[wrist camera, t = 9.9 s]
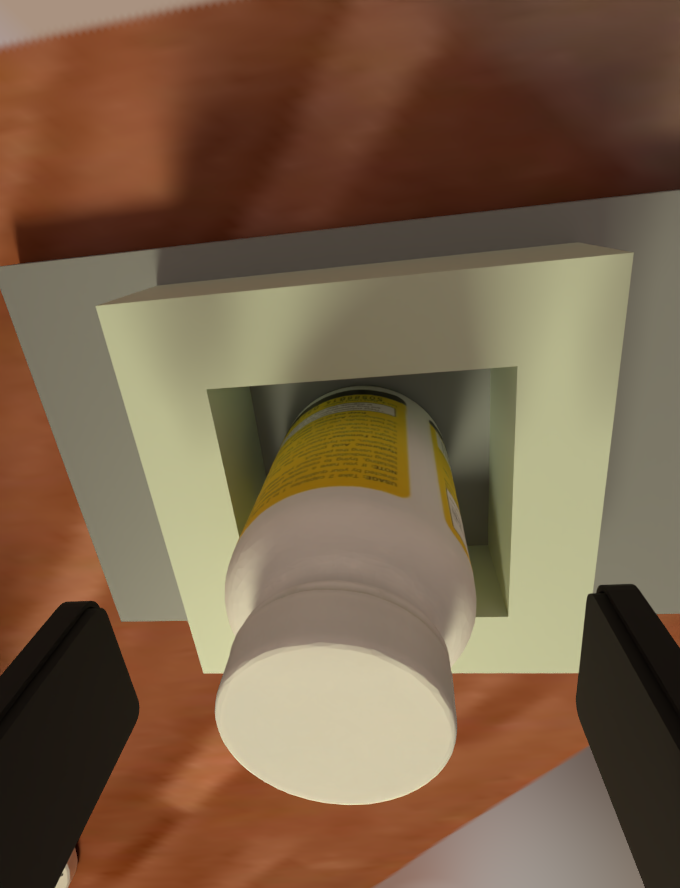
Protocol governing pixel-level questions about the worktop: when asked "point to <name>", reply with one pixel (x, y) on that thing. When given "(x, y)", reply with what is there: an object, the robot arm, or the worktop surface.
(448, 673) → the supplement bottle
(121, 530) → the socket board
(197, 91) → the worktop surface
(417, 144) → the worktop surface
